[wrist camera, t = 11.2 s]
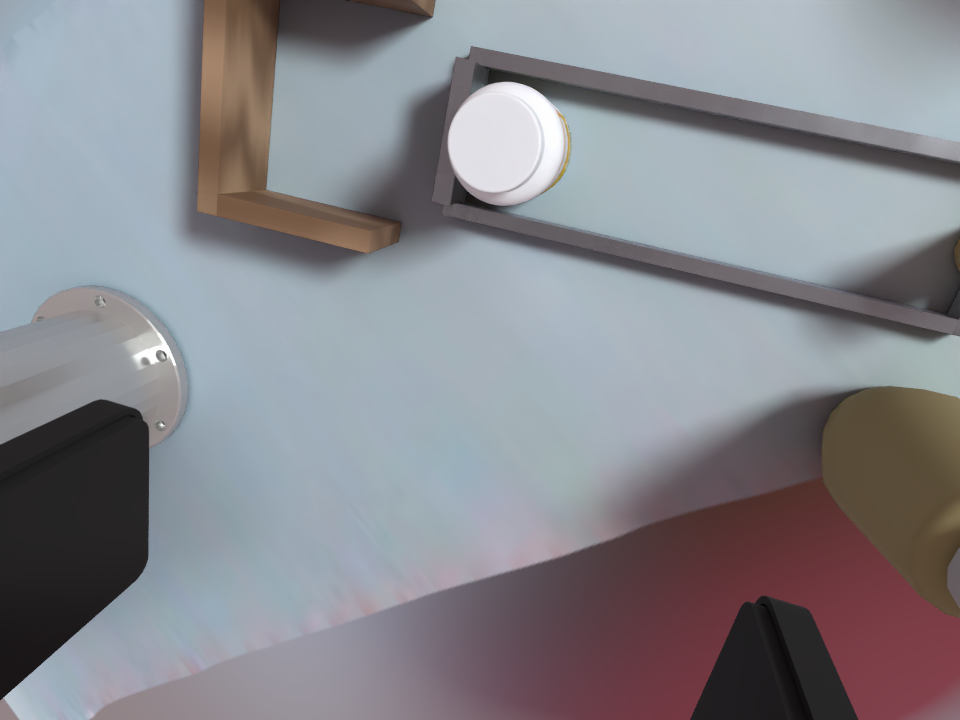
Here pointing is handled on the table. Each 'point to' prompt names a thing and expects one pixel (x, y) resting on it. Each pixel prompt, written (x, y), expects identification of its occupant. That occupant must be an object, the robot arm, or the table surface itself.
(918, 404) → the squeeze bottle
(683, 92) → the gray rectangular frame
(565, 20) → the table surface
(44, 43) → the table surface
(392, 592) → the table surface
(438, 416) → the table surface
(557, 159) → the supplement bottle
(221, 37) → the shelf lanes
